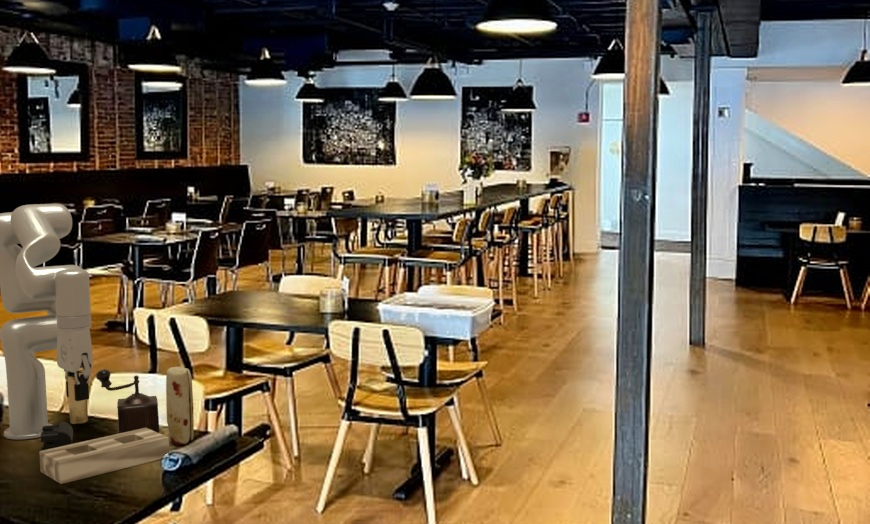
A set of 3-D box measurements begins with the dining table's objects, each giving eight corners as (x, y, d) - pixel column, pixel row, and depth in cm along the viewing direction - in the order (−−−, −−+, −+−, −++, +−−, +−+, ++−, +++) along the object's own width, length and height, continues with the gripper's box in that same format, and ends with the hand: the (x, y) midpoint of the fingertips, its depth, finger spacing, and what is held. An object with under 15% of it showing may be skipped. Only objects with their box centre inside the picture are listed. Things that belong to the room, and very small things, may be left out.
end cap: (72, 456, 230) (71, 430, 229) (41, 460, 227) (40, 433, 227) (73, 445, 239) (72, 419, 238) (44, 448, 237) (42, 422, 236)
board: (40, 471, 218) (39, 451, 218) (146, 446, 237) (146, 427, 236) (60, 484, 210) (59, 462, 209) (169, 456, 228) (168, 437, 228)
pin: (67, 421, 218) (64, 375, 217) (83, 417, 221) (81, 373, 220) (74, 424, 215) (71, 378, 214) (90, 421, 218) (88, 376, 217)
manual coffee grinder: (158, 427, 254) (155, 363, 252) (160, 439, 244) (157, 372, 242) (98, 433, 249) (95, 368, 247) (98, 445, 239) (94, 377, 237)
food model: (164, 439, 243) (161, 365, 241) (189, 435, 246) (186, 362, 244) (171, 449, 234) (168, 372, 232) (197, 445, 237) (194, 369, 235)
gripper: (44, 319, 219) (48, 394, 221) (73, 329, 207) (76, 408, 209) (75, 315, 224) (78, 388, 226) (105, 324, 212) (108, 402, 214)
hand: (77, 397), depth 218 cm, fingers closed on pin, 4 cm apart
